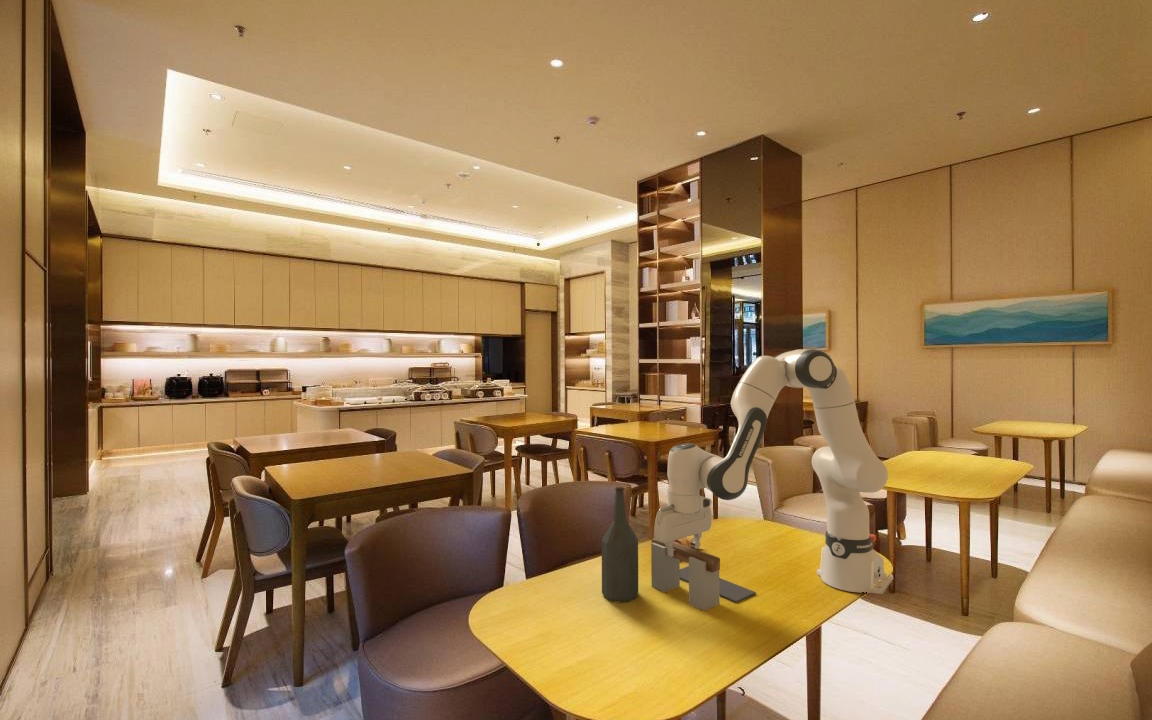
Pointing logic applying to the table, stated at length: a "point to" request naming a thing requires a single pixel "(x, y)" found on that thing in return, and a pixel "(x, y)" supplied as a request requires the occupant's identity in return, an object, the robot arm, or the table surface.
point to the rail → (693, 555)
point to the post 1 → (664, 569)
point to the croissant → (685, 541)
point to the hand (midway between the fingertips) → (683, 552)
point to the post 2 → (702, 585)
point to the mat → (724, 588)
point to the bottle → (620, 556)
